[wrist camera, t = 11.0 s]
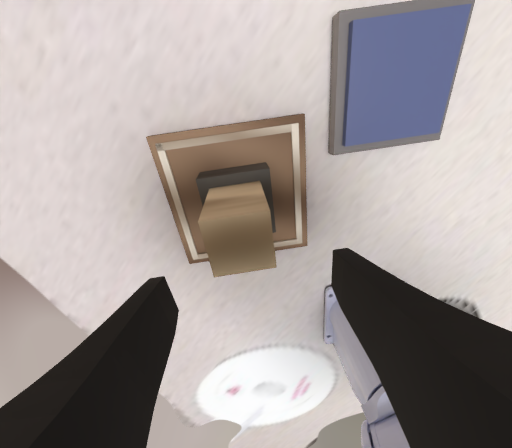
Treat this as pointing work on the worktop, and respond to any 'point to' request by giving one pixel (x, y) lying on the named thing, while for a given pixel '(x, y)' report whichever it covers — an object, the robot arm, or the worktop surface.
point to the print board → (232, 155)
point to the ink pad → (394, 72)
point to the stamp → (237, 218)
